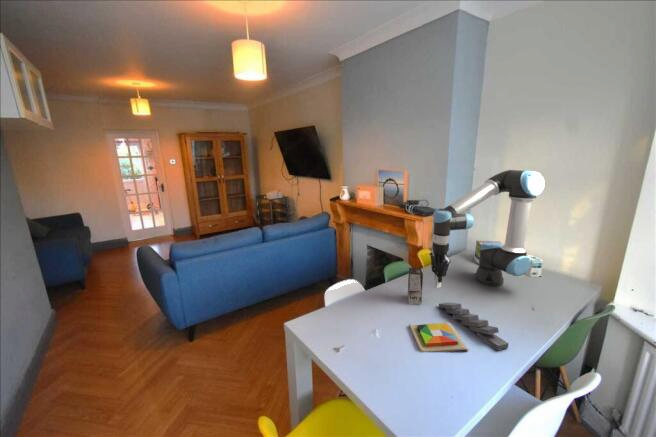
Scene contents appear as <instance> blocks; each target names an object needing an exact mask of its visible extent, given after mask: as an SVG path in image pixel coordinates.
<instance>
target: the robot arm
mask: <svg viewBox="0 0 656 437" xmlns="http://www.w3.org/2000/svg"><path fill="white" fill-rule="evenodd" d="M545 185H546V184H545V179H544V177H543V176H542V174H541V173H540V172H537V171H535V170H533V171H532V170H518V169H508V170H504V171H501V172H499V173H495V174H494V175H492V176H491V177H489V178H487V179H486V180H485V181H484V182H483V184H481V185H480V186H478V187H476V188H475V189H473V190H472V191H470V192H468V193H467V194H465V195H464V196H462V197H461V198H459V199H457V200H456V201H454V202H452V203H450V204H449V205H447V206H445V207H444V208H441V207H440V208H439V207H438V208H436V209H435V210H434V211H433V214H432V217H433V230H432V231H433V232H432V244H431V245H432V246H431V247H432V248H431V249H432V252H430V253H429V256H430V263H431V265H430V266H431V272H432V273H433V274H434V288H435V289H439V288H442V282H443V277H446V276H447V272H448V268H449V265H450V264H451V262H452V261H451V259H449V258H448V252H449V250H450V244H449V243H450V237H451V236H450V235H451V231H457V230H468V229H472V227H473V226H474V224H475V218H474V217H473V216H472V215H471V214H470V213H466V212H468V211H469V210H470V209H473V208H475V207H476V206H478V205H479V204H481V203H483V202H484V201H485V200H488V199H489V198H490V197H492V196H497V195H499V194H501V193H508V198H509V200H510V202H511V203H510V207H509V208H510V209H509V215H508V220H507V227H506V233H505V238H504V239H505V240H504V243H502V242H501V243H496V242H486V243H483V244H482V245H481V249H480V257H479V265H478V267H477V269H476V271H475V272H474V277H473V278H474V281H475V282H477V283H478V284H480V285H481V284H482V285H484V286H489V287H499V286H500V287H501V286H502V285H504V281H505V279H504V277H503V272H504V273H506V274H507V275H511V276H514V277H521V276H523V275H524V274H525V272H527V271H528V269H529V268H530V265H531V261H530V259H529V258H528V257H527V256H526V255H528V254H527V252H528V251H527V249H526V248H525V245H526V244H525V242H526V238H527V233H528V232H527V231H528V225H529V220H530V213H531V208H532V203H533V201H535V200H536V199H537V196H539V195H541V194H542V192H543V191H544V189H545Z"/></svg>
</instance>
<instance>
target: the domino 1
mask: <svg viewBox="0 0 656 437" xmlns="http://www.w3.org/2000/svg"><path fill="white" fill-rule="evenodd" d="M438 307H439V308H440V309H457V308H462V304H461V303H457V302H442V303H441V302H440V303H438Z"/></svg>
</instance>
